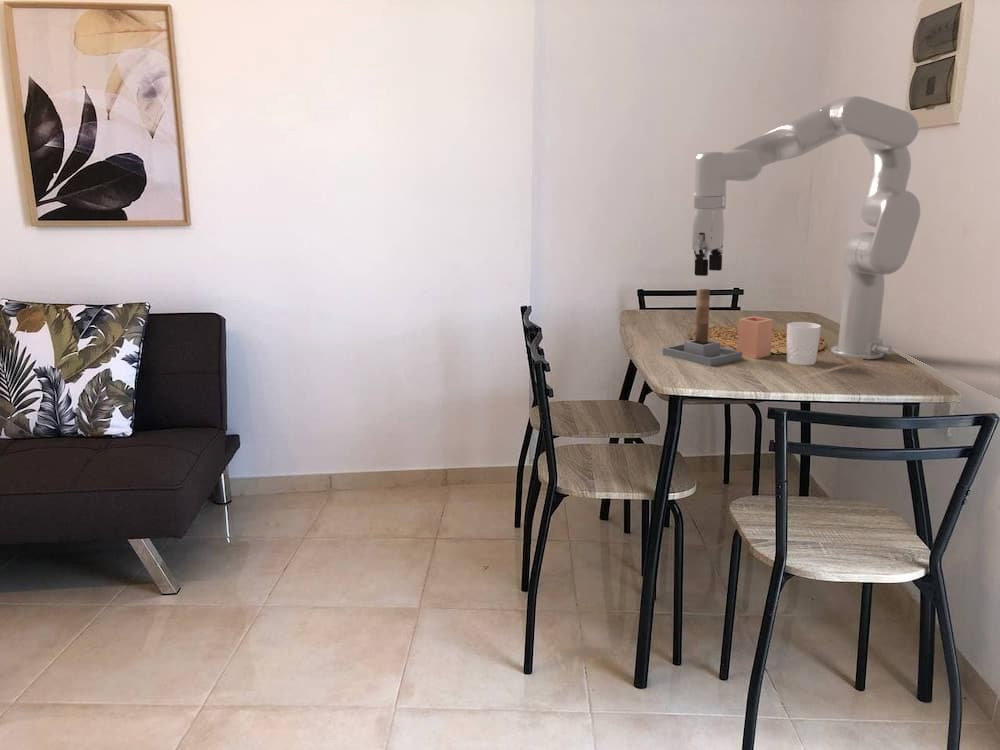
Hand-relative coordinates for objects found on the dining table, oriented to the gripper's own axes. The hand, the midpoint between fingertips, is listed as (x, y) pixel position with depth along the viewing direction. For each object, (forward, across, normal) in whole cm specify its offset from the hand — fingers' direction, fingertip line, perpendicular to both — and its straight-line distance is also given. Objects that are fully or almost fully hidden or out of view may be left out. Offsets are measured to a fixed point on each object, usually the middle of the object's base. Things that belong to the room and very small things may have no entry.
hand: (708, 272), depth 198 cm
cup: (+23, -8, +10) cm, 26 cm away
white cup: (+23, -7, +22) cm, 33 cm away
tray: (+22, +1, -1) cm, 22 cm away
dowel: (+21, +1, -1) cm, 21 cm away
